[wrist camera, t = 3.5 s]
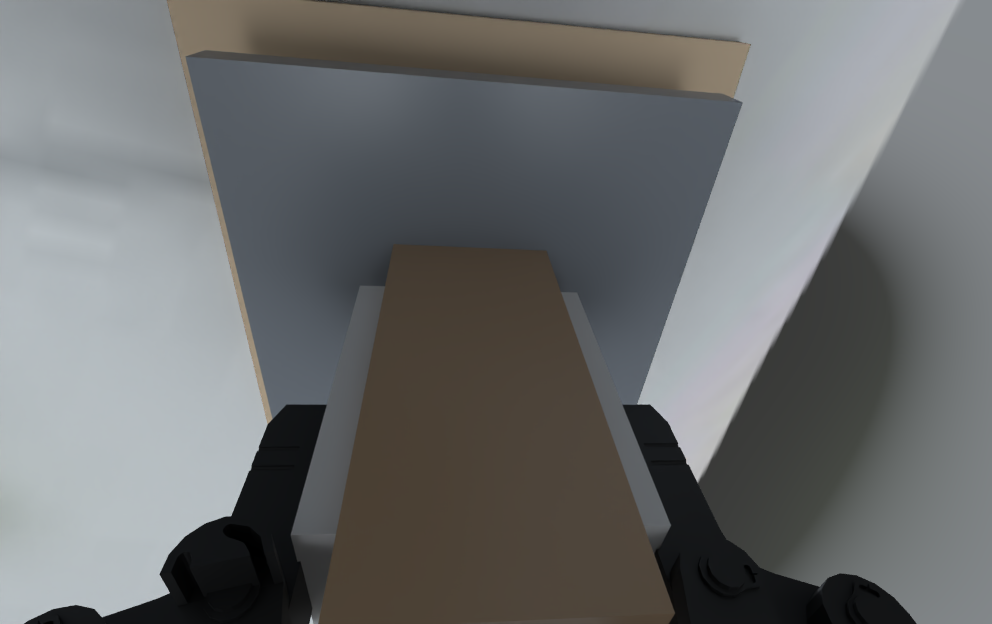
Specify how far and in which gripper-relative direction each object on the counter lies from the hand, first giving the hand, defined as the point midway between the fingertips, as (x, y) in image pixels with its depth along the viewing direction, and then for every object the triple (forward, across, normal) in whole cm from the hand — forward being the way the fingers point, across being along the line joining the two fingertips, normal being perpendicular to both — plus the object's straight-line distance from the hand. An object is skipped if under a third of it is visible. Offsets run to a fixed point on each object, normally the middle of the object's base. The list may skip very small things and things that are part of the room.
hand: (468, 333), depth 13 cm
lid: (+2, 0, 0) cm, 2 cm away
